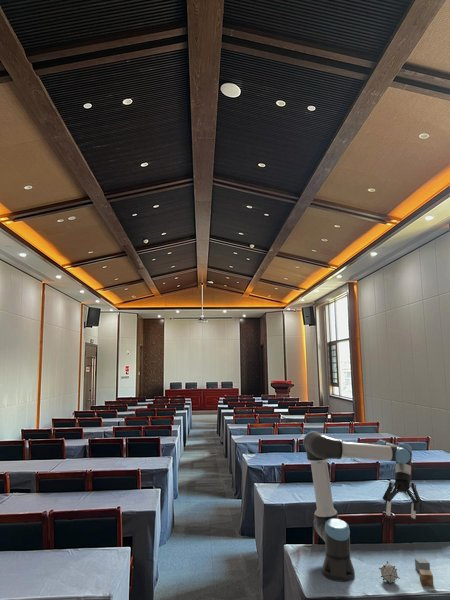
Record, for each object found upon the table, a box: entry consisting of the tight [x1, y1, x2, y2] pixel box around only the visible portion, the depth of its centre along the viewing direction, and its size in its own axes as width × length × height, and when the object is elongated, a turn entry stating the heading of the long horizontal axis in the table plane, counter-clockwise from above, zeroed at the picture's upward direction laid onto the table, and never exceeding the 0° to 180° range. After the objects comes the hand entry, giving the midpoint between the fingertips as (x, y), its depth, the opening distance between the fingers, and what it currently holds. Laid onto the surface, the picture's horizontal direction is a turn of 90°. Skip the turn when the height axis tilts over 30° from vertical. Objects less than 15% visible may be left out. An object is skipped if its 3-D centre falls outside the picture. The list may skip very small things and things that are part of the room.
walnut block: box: [418, 569, 434, 588], centre depth 205 cm, size 5×5×5 cm
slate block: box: [414, 557, 431, 573], centre depth 217 cm, size 5×5×5 cm
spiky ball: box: [378, 561, 400, 586], centre depth 206 cm, size 9×8×10 cm
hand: (400, 516), depth 222 cm, fingers open, 13 cm apart
